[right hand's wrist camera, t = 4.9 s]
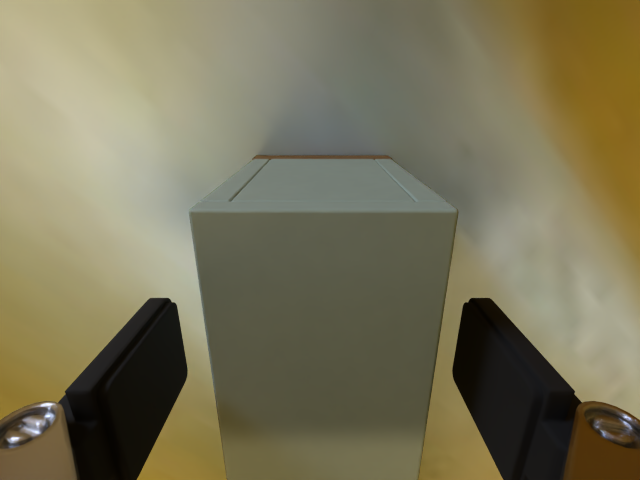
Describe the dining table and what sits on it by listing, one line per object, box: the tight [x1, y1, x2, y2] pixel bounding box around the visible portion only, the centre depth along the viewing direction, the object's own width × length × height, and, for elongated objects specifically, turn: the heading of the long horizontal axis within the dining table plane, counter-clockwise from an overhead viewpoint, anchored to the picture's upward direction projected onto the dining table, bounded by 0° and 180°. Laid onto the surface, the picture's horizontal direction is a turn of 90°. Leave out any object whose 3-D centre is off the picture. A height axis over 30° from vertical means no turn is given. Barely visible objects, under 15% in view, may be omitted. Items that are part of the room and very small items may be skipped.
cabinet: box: [189, 156, 458, 480], centre depth 15 cm, size 21×6×9 cm, turn 0°
